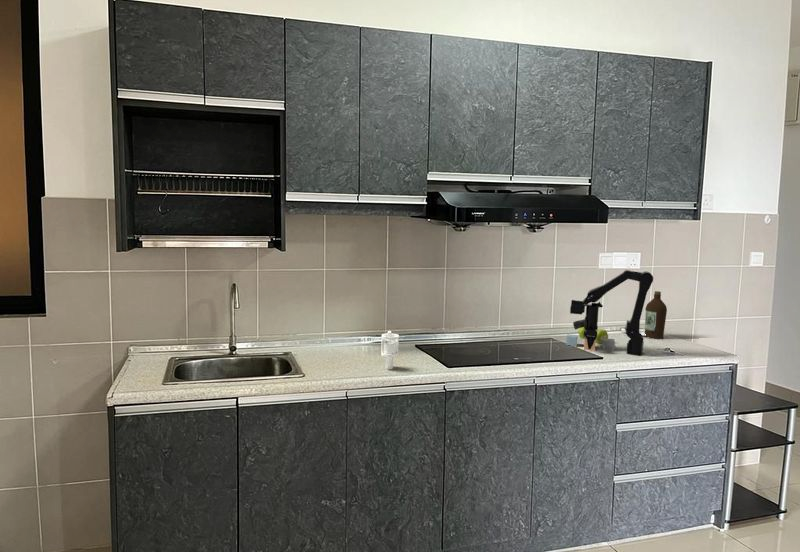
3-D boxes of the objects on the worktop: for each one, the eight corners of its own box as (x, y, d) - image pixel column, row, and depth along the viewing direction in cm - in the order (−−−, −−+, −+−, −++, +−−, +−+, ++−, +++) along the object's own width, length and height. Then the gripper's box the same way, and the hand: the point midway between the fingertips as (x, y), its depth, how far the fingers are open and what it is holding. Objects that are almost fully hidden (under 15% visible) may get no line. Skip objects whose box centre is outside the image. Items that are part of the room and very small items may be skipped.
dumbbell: (609, 343, 305) (610, 330, 304) (596, 344, 302) (597, 330, 301) (588, 336, 320) (589, 323, 319) (576, 337, 317) (577, 324, 316)
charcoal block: (613, 349, 294) (614, 339, 293) (613, 351, 289) (614, 341, 288) (602, 348, 295) (603, 338, 295) (602, 350, 290) (603, 340, 290)
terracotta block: (594, 348, 293) (595, 338, 293) (594, 350, 289) (595, 340, 288) (584, 347, 295) (584, 337, 294) (583, 349, 290) (584, 339, 290)
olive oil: (652, 334, 331) (656, 289, 328) (668, 338, 321) (672, 292, 318) (638, 335, 326) (642, 290, 323) (654, 340, 316) (658, 293, 313)
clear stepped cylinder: (396, 365, 251) (397, 330, 249) (398, 370, 244) (400, 334, 242) (379, 365, 250) (380, 330, 248) (381, 370, 243) (382, 334, 241)
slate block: (576, 344, 300) (577, 335, 300) (576, 347, 295) (577, 337, 295) (566, 343, 302) (567, 334, 301) (566, 345, 297) (566, 336, 296)
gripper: (575, 310, 301) (573, 341, 303) (573, 317, 284) (571, 349, 285) (598, 312, 298) (596, 343, 300) (598, 319, 280) (596, 351, 282)
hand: (589, 346), depth 292 cm, fingers open, 9 cm apart
